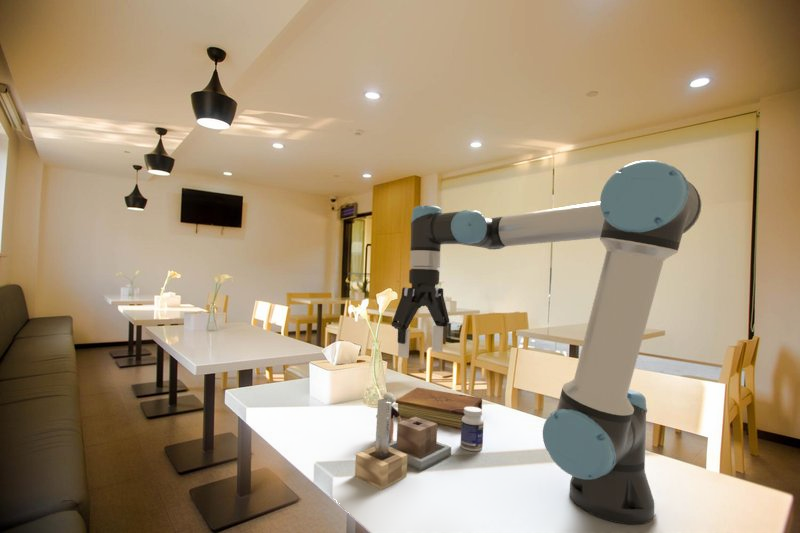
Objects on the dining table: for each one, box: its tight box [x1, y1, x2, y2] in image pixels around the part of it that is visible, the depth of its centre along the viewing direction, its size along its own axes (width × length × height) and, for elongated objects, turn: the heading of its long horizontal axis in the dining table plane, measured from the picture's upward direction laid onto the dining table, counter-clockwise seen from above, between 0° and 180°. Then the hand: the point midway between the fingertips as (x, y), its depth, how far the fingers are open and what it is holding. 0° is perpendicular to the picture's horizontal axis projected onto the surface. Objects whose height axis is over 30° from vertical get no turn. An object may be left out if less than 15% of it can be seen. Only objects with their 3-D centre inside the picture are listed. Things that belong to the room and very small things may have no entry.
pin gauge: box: [374, 398, 393, 461], centre depth 89 cm, size 3×3×16 cm
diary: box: [394, 387, 483, 431], centre depth 132 cm, size 23×19×6 cm
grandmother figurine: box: [375, 392, 402, 443], centre depth 110 cm, size 8×4×13 cm, turn 70°
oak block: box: [354, 446, 408, 490], centre depth 90 cm, size 8×8×5 cm
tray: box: [389, 440, 452, 472], centre depth 101 cm, size 12×12×2 cm
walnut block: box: [396, 417, 438, 459], centre depth 102 cm, size 7×7×7 cm
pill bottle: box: [460, 407, 484, 452], centre depth 108 cm, size 6×6×10 cm
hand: (421, 354), depth 102 cm, fingers open, 13 cm apart
